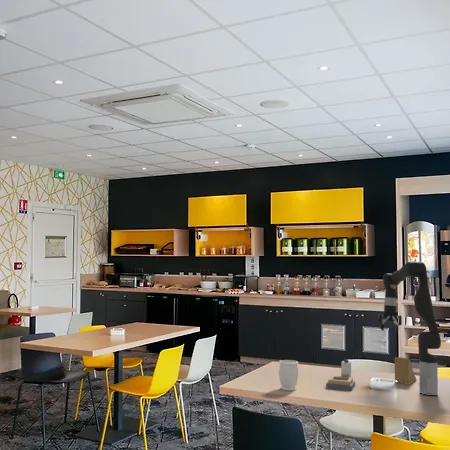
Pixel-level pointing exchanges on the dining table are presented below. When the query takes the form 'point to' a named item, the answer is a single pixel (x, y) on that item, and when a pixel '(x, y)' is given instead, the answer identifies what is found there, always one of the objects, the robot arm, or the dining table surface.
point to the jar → (288, 374)
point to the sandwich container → (403, 371)
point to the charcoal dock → (337, 386)
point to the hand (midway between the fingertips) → (389, 331)
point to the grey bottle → (346, 368)
